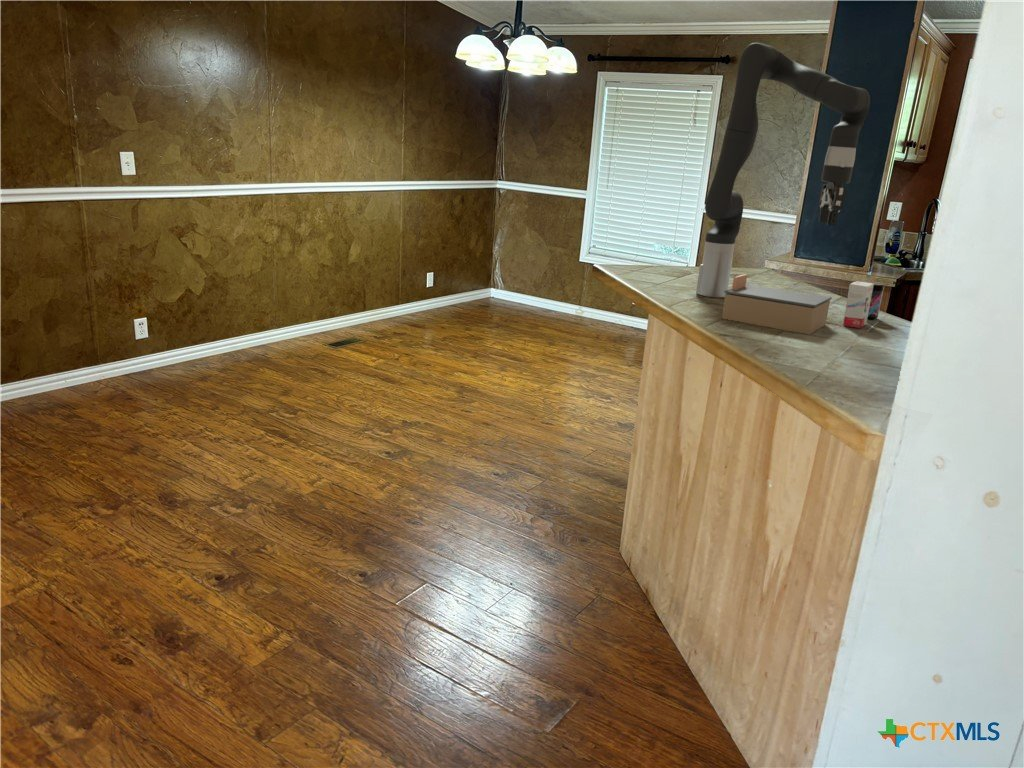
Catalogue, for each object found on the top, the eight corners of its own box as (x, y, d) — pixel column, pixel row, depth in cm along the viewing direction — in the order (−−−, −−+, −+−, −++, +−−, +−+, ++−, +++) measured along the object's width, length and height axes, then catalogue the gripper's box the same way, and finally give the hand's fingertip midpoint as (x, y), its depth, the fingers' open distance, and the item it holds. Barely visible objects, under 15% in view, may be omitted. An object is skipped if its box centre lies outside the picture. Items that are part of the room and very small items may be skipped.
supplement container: (854, 318, 216) (861, 283, 213) (851, 314, 222) (857, 280, 219) (879, 321, 214) (887, 285, 211) (875, 316, 220) (882, 282, 217)
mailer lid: (724, 292, 204) (726, 278, 203) (745, 286, 216) (747, 272, 215) (814, 307, 190) (817, 291, 189) (831, 299, 203) (834, 284, 202)
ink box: (860, 329, 202) (868, 286, 199) (841, 325, 205) (849, 284, 202) (867, 324, 209) (875, 283, 206) (848, 321, 212) (856, 280, 208)
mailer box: (721, 318, 206) (725, 294, 204) (741, 310, 218) (745, 287, 216) (809, 334, 193) (814, 308, 191) (825, 324, 205) (830, 300, 203)
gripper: (817, 162, 210) (806, 220, 215) (832, 164, 196) (820, 225, 201) (844, 164, 209) (832, 222, 214) (861, 166, 196) (848, 228, 201)
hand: (826, 223), depth 208 cm, fingers open, 8 cm apart
